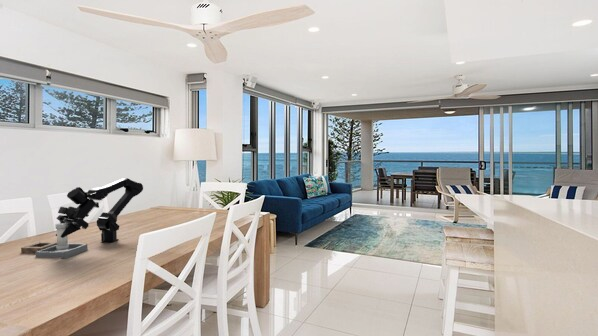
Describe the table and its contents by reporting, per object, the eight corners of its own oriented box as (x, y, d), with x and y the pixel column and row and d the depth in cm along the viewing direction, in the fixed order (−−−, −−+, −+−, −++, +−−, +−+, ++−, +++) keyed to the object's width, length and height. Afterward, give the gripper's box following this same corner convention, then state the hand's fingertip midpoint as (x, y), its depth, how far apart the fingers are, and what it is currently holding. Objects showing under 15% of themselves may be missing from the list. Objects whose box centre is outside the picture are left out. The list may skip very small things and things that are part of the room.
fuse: (70, 247, 154) (69, 222, 153) (67, 249, 149) (66, 224, 149) (58, 248, 152) (57, 223, 152) (54, 250, 148) (53, 225, 147)
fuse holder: (58, 248, 160) (58, 242, 159) (41, 254, 150) (41, 248, 149) (39, 247, 160) (39, 241, 160) (21, 254, 150) (21, 247, 150)
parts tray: (87, 249, 157) (87, 243, 157) (64, 258, 144) (64, 252, 143) (60, 248, 158) (60, 243, 158) (35, 258, 144) (35, 251, 144)
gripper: (60, 198, 158) (34, 225, 149) (80, 201, 149) (54, 229, 140) (78, 211, 165) (54, 237, 156) (98, 215, 156) (74, 242, 147)
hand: (58, 236), depth 149 cm, fingers closed on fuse, 4 cm apart
